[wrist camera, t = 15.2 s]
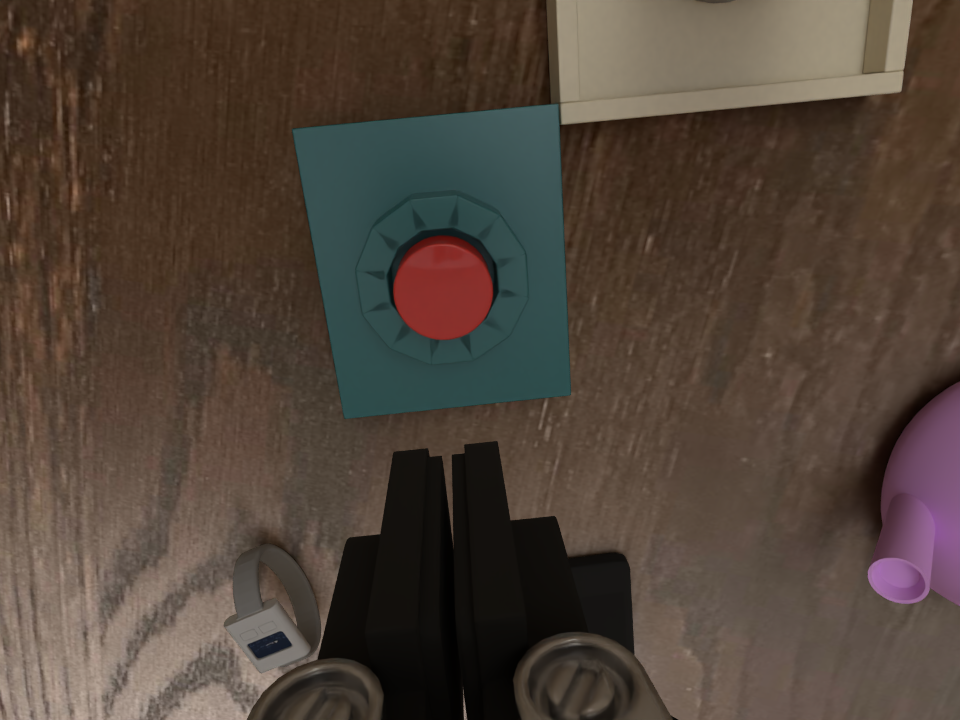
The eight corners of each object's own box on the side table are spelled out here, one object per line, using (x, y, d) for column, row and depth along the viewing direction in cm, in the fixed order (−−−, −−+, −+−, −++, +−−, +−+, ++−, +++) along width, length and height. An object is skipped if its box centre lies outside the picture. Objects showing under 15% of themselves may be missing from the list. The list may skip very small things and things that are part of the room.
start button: (389, 239, 24) (386, 248, 23) (485, 230, 24) (488, 238, 23) (402, 330, 26) (400, 345, 24) (493, 321, 26) (497, 335, 24)
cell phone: (501, 799, 42) (502, 814, 41) (463, 571, 35) (464, 583, 34) (637, 780, 42) (641, 794, 41) (625, 549, 35) (630, 560, 34)
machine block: (307, 127, 27) (280, 129, 22) (545, 104, 27) (567, 102, 23) (353, 390, 31) (337, 438, 27) (559, 369, 32) (579, 413, 27)
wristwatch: (235, 536, 34) (203, 604, 29) (282, 517, 34) (257, 582, 29) (295, 621, 36) (274, 696, 31) (340, 602, 36) (325, 676, 31)
